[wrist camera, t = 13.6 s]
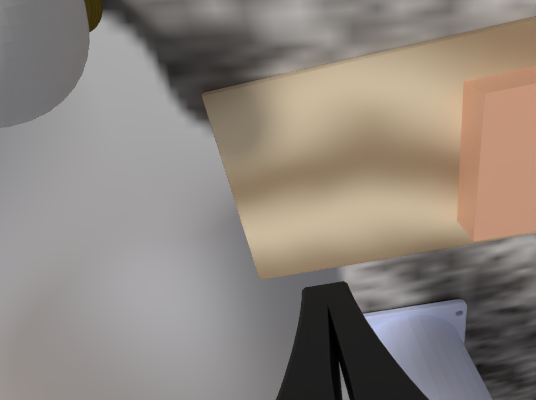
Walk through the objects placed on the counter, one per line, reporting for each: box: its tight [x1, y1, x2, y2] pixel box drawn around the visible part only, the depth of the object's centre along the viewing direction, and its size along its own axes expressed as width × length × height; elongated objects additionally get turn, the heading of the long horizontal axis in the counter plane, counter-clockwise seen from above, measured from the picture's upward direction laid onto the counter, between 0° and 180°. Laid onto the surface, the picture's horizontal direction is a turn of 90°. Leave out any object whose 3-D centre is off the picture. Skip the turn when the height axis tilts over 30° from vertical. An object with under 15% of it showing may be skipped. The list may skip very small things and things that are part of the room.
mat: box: [202, 16, 536, 280], centre depth 20 cm, size 12×18×1 cm, turn 103°
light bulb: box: [0, 0, 102, 128], centre depth 12 cm, size 6×6×10 cm
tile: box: [457, 66, 536, 242], centre depth 18 cm, size 8×2×6 cm
